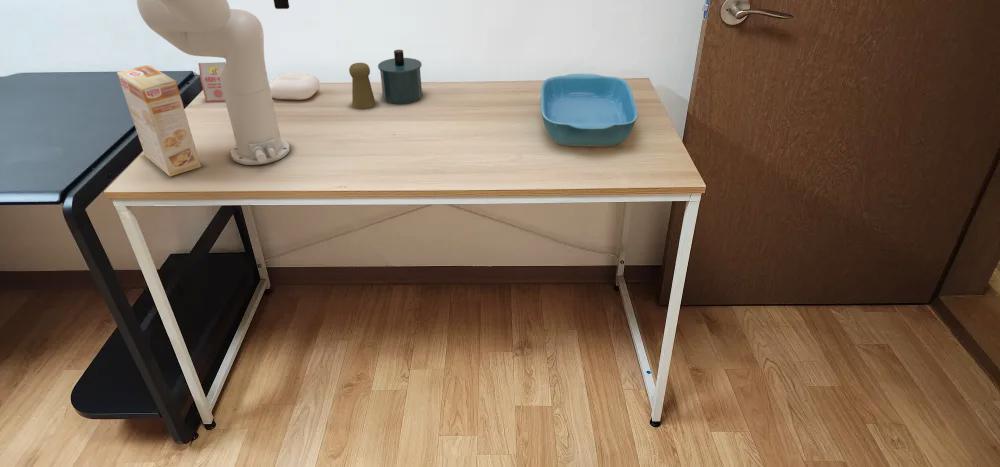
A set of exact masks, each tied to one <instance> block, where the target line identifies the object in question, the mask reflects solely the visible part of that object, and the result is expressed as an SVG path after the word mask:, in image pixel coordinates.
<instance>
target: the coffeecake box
mask: <svg viewBox="0 0 1000 467" xmlns="http://www.w3.org/2000/svg"><path fill="white" fill-rule="evenodd" d="M116 75H117V77H118V81H119V83H120V86H121V89H122V92H123V95H124V98H125V101H126V104H127V107H128V110H129V113H130V116H131V119H132V122H133V125H134V127H135V130H136V133H137V137H138V140H139V142H140V145H141V148H142V152H143V154H144V156H145V157H146V158H147V159H148V160H149V161H150V162H152V163H153V164H154V165H155V166H156V167H157V168H159V169H160V170H162V171H163V173H165V174H166V175H167V176H168V177H173V176H177V175H179V174H183V173H186V172H189V171H193V170H196V169H199V168H202V165H201V162H200V159H199V155H198V152H197V148H196V145H195V142H194V139H193V135H192V131H191V128H190V124H189V121H188V118H187V113H186V111H185V107H184V103H183V100H182V96H181V93H180V89H179V87H178V82H177V80H175V79H174V78H172V77H170V76H169V75H167V74H165V73H164V72H162V71H160V70H158V69H157V68H155V67H153V66H152V65H149V64H148V65H143V66H138V67H134V68H130V69H125V70H120V71H117V72H116Z"/></svg>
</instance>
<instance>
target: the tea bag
mask: <svg viewBox="0 0 1000 467" xmlns="http://www.w3.org/2000/svg"><path fill="white" fill-rule="evenodd" d="M225 64H226V61H221V62H219V61H218V62H198V64H197V65H198V70H199V80H200V84H201V88H202V90H203V95H204V98H205V103H216V102H218V103H220V102H225V98H224V94H223V91H222V87H221V82H220V76H221V73H222V70H223V68H224V66H225Z"/></svg>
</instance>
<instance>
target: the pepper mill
mask: <svg viewBox="0 0 1000 467" xmlns="http://www.w3.org/2000/svg"><path fill="white" fill-rule="evenodd" d="M348 71H349V75H350V77H351V79H352V82H351V83H352V84H351V86H352V87H351V88H352V92H351V93H352V96H351V97H352V99H351V100H352V102H351V104H352V106H351V107H352V108H353V109H357V110H369V109H372V108H374V107H375V106H376V104H377V103H376V100H375V95H374V92H373V88H372V85H371V81H370V74H371V69H370V66H369V65H368V64H367V63H366V62H354V63H352V64H351V65H349V68H348Z"/></svg>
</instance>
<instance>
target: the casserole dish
mask: <svg viewBox="0 0 1000 467" xmlns="http://www.w3.org/2000/svg"><path fill="white" fill-rule="evenodd" d="M540 113H541V116H542V120H543V123H544V127H545V130H546V132H547V135H548V136H549V137H550V138H551V140H552V141H554V142H555V143H557V144H559V145H561V146H568V147H615V146H618V145H620V144H623V143H624V142H625V141H626V140H627V139H628V138H629V136H630V135H631V133H632V130H633V128H634V126H635V124H636V122H637V119H638V117H639V112H638V107H637V104H636V101H635V97H634V94H633V90H632V88H631V86H630V84H629V83H628V82H627V81H626V80H625V79H622V78H620V77H617V76H611V75H601V74H596V73H570V74H566V75H565V74H564V75H556V76H550V77H548V78H546V79H545V80H544V81H542V83H541V86H540Z"/></svg>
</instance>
